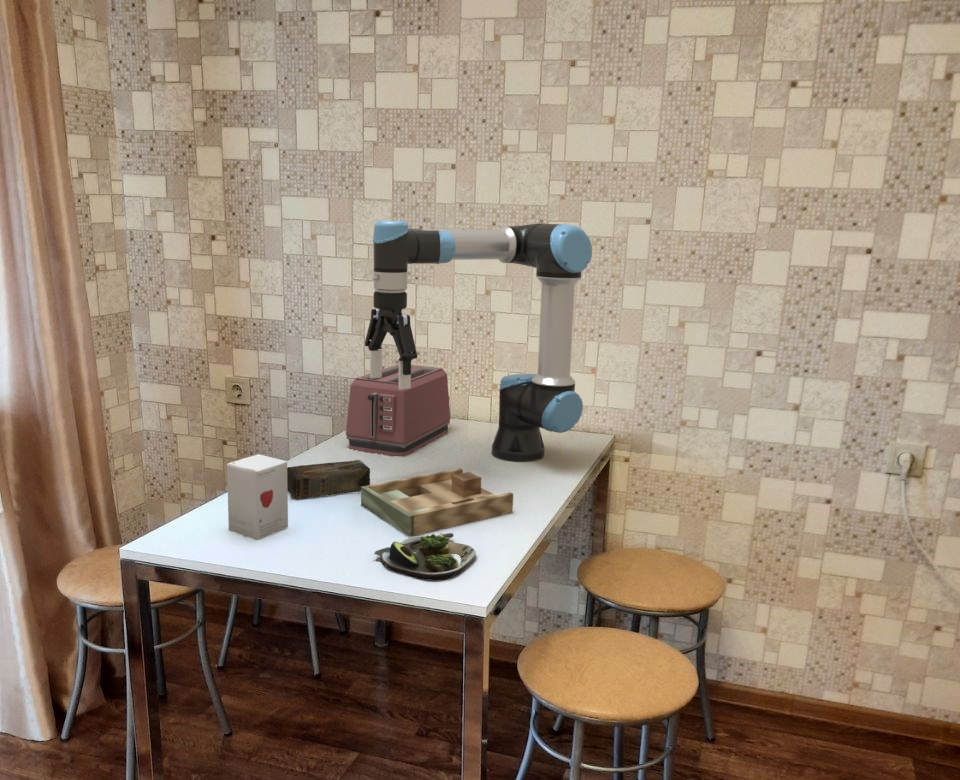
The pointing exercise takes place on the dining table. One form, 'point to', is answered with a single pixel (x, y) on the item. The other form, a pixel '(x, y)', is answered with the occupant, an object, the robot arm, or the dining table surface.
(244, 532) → the supplement box
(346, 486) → the beverage carton
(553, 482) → the dining table surface
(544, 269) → the robot arm
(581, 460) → the dining table surface
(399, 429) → the toaster
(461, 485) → the block
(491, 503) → the box
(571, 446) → the dining table surface
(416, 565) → the salad plate
